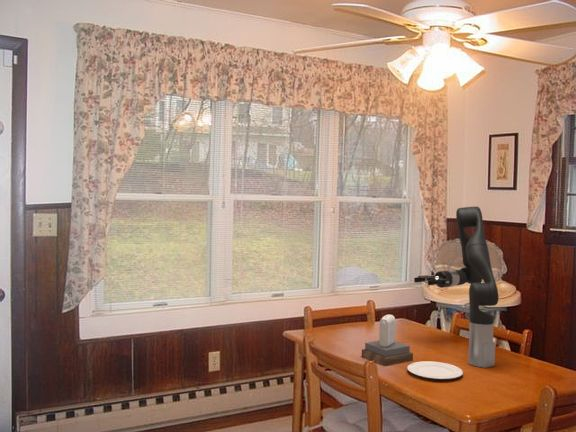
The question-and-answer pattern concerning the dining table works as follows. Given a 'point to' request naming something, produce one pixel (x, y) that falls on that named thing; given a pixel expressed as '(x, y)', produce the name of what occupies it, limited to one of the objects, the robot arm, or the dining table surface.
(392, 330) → the photo printer
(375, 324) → the dining table surface
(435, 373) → the plate
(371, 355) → the base brick
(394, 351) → the top brick
